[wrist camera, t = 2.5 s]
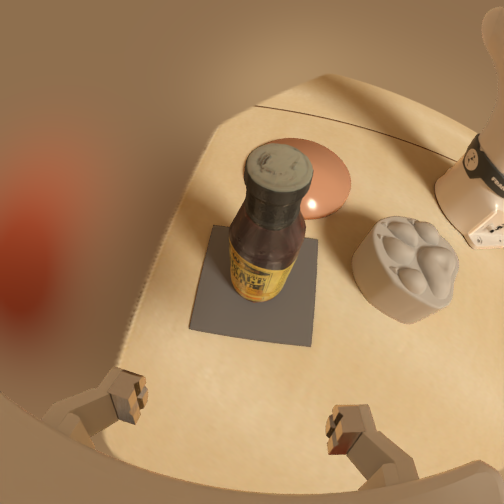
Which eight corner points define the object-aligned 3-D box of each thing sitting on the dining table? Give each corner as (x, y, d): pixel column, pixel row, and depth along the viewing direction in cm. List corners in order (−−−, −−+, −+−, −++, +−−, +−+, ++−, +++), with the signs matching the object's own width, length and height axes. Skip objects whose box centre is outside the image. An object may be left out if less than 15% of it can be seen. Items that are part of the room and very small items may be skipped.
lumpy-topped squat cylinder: (415, 333, 31) (455, 316, 23) (337, 284, 34) (362, 254, 26) (434, 272, 35) (468, 245, 27) (366, 227, 38) (390, 190, 30)
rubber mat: (317, 240, 36) (318, 239, 36) (310, 346, 30) (310, 346, 30) (213, 226, 37) (213, 225, 37) (189, 329, 31) (189, 328, 30)
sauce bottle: (221, 275, 33) (198, 150, 16) (262, 248, 35) (278, 116, 18) (253, 318, 31) (266, 223, 13) (295, 288, 33) (348, 173, 15)
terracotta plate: (345, 152, 45) (346, 147, 44) (351, 227, 37) (354, 223, 36) (255, 137, 45) (255, 132, 44) (239, 210, 38) (239, 205, 37)
